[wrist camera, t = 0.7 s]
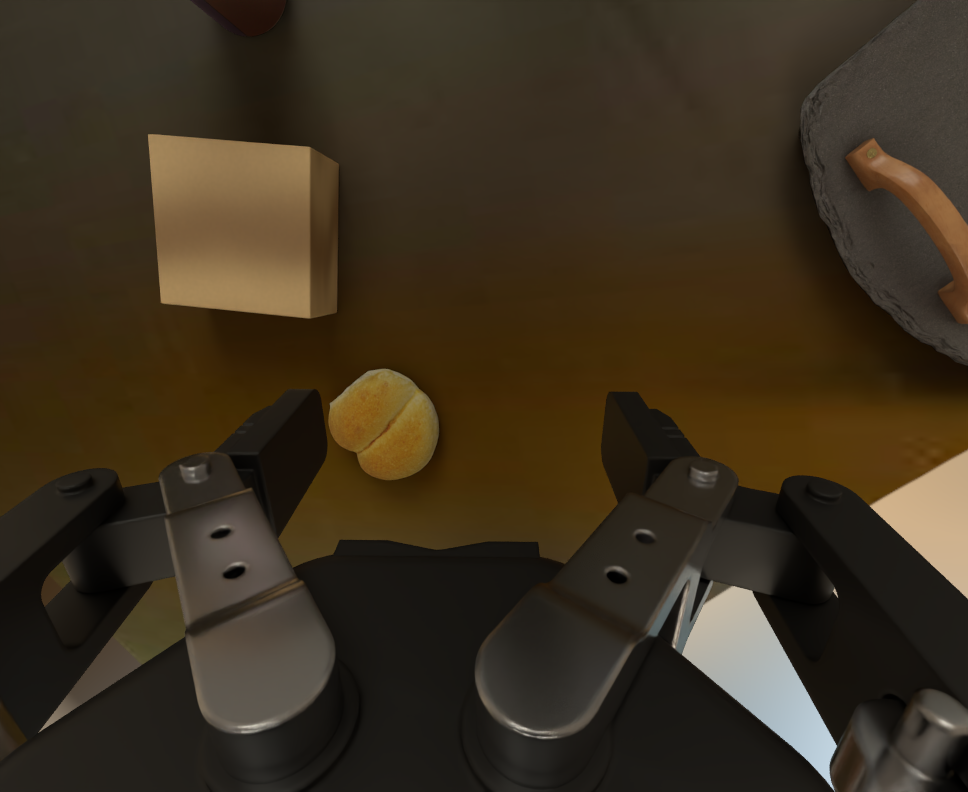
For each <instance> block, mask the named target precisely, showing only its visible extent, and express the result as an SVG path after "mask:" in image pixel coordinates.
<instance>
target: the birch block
mask: <svg viewBox="0 0 968 792" xmlns="http://www.w3.org/2000/svg"><path fill="white" fill-rule="evenodd" d="M148 140H149V153H150V166H151V179H152V191H153V204H154V217H155V230H156V243H157V256H158V268H159V281H160V294H161V303H163V304H173V305H182V306H192V307H202V308H212V309H221V310H231V311H241V312H250V313H260V314H270V315H280V316H289V317H299V318H309V319H310V318H315V317H319V316H324V315H329V314H334V313H337V275H338V201H339V164H338V163H336V162H335V161H333V160H331V159H330V158H328V157H326V156H324V155H323V154H321V153H319V152H317V151H316V150H314V149H312V148H311V147H305V146H292V145H280V144H268V143H255V142H243V141H230V140H218V139H205V138H193V137H180V136H168V135H155V134H148Z"/></svg>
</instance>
